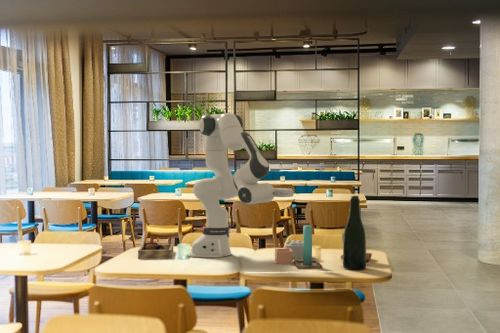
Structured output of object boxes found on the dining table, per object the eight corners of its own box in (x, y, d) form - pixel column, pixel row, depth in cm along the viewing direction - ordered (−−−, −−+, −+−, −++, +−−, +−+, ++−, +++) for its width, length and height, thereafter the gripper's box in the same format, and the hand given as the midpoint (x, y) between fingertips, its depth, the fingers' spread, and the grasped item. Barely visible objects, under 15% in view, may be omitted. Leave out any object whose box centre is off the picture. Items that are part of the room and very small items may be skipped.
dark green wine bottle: (338, 267, 284) (338, 195, 283) (357, 265, 288) (358, 194, 287) (351, 271, 275) (351, 197, 273) (370, 269, 279) (371, 196, 278)
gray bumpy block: (285, 260, 300) (285, 242, 300) (285, 255, 313) (285, 238, 313) (306, 260, 300) (306, 243, 299) (306, 255, 312) (306, 238, 312)
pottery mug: (138, 258, 307) (138, 243, 310) (147, 264, 315) (147, 248, 318) (160, 253, 304) (160, 238, 308) (169, 259, 312) (168, 243, 316)
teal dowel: (303, 266, 281) (303, 226, 281) (302, 264, 285) (302, 225, 285) (312, 266, 281) (312, 226, 281) (311, 264, 285) (311, 225, 285)
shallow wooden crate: (138, 258, 305) (138, 250, 305) (142, 252, 323) (142, 244, 323) (170, 258, 306) (170, 250, 306) (173, 251, 324) (173, 244, 324)
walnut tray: (297, 270, 276) (297, 266, 276) (293, 264, 290) (293, 260, 290) (322, 270, 277) (322, 265, 277) (317, 264, 291) (317, 260, 291)
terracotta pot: (276, 265, 288) (276, 251, 288) (274, 262, 295) (274, 248, 295) (292, 265, 288) (292, 251, 288) (290, 262, 296) (290, 248, 296)
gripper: (283, 186, 278) (300, 185, 289) (247, 185, 290) (264, 183, 301) (283, 200, 278) (300, 198, 289) (247, 198, 290) (264, 196, 301)
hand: (281, 190), depth 295 cm, fingers open, 8 cm apart
